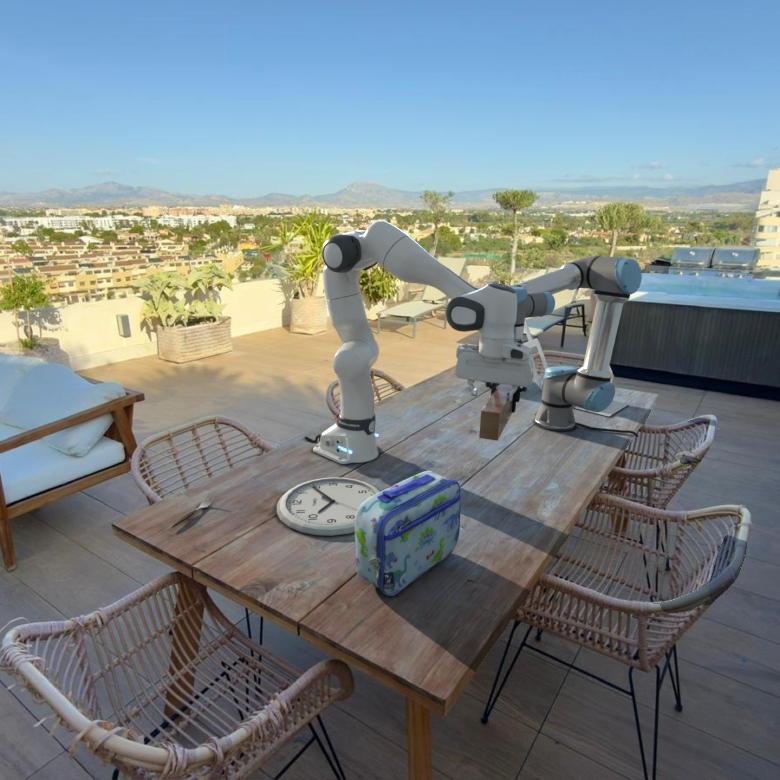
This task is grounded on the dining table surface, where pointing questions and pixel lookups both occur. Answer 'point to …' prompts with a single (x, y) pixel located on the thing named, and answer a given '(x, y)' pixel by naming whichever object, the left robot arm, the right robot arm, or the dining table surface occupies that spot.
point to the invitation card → (608, 409)
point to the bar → (496, 413)
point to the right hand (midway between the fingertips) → (504, 409)
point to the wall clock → (324, 505)
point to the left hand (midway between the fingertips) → (491, 397)
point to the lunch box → (406, 530)
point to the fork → (203, 505)
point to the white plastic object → (535, 347)
